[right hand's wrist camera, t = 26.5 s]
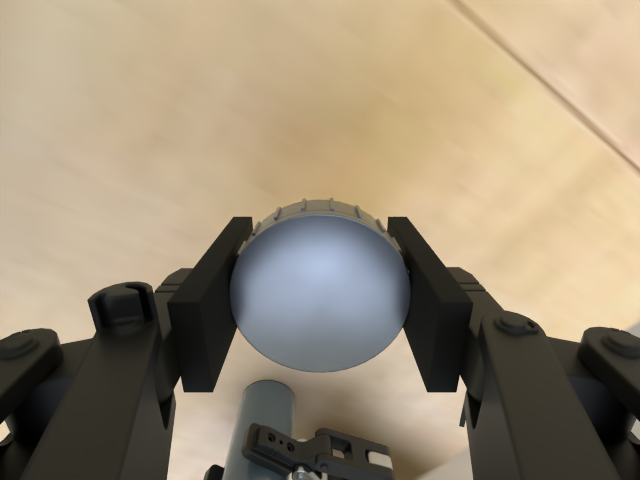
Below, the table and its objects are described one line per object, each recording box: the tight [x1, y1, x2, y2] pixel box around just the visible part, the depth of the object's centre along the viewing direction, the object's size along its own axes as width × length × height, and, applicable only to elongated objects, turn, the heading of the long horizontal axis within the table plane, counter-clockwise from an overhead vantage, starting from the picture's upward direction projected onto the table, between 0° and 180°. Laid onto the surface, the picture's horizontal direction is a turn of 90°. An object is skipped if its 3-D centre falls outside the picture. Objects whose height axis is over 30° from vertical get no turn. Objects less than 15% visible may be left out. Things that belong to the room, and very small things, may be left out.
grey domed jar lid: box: [229, 198, 411, 372], centre depth 11 cm, size 6×6×2 cm
